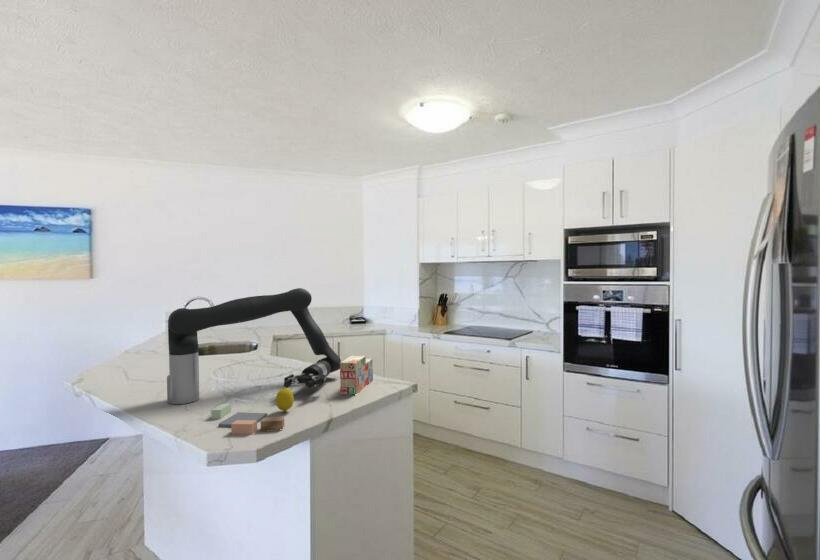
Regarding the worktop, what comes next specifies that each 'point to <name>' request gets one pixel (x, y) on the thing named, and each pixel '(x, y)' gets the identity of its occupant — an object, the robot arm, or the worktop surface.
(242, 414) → the coaster
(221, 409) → the brick sage
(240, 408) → the worktop surface
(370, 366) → the stack of blocks
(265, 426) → the brick walnut
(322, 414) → the worktop surface
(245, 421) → the brick terracotta
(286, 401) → the lemon
